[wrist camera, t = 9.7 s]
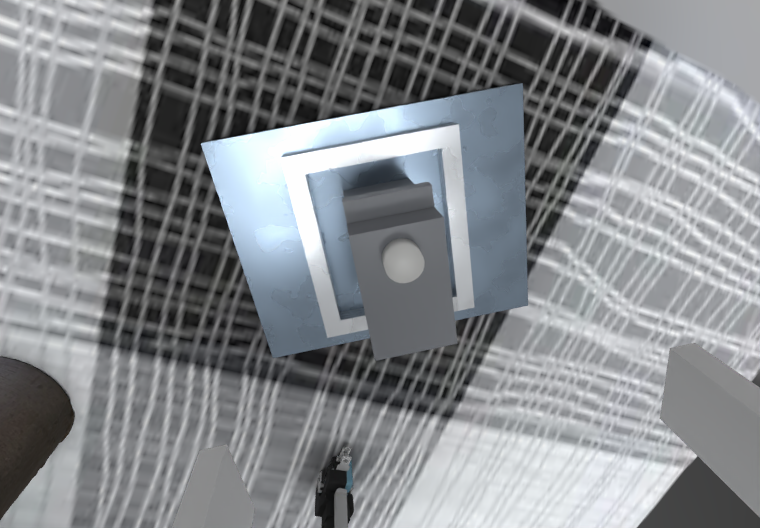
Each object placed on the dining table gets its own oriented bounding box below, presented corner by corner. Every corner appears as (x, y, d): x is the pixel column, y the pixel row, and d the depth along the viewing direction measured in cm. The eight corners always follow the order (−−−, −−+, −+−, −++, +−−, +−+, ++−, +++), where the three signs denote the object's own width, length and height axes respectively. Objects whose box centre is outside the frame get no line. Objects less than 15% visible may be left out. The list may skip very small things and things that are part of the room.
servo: (365, 298, 30) (380, 390, 21) (339, 174, 26) (344, 219, 17) (424, 286, 30) (465, 372, 21) (406, 161, 26) (446, 199, 17)
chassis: (275, 352, 32) (271, 370, 30) (205, 141, 25) (194, 145, 23) (522, 301, 33) (535, 315, 31) (516, 83, 26) (531, 82, 24)
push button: (318, 438, 36) (314, 556, 27) (375, 447, 37) (390, 564, 28) (299, 490, 38) (289, 617, 29) (354, 498, 39) (361, 621, 30)
